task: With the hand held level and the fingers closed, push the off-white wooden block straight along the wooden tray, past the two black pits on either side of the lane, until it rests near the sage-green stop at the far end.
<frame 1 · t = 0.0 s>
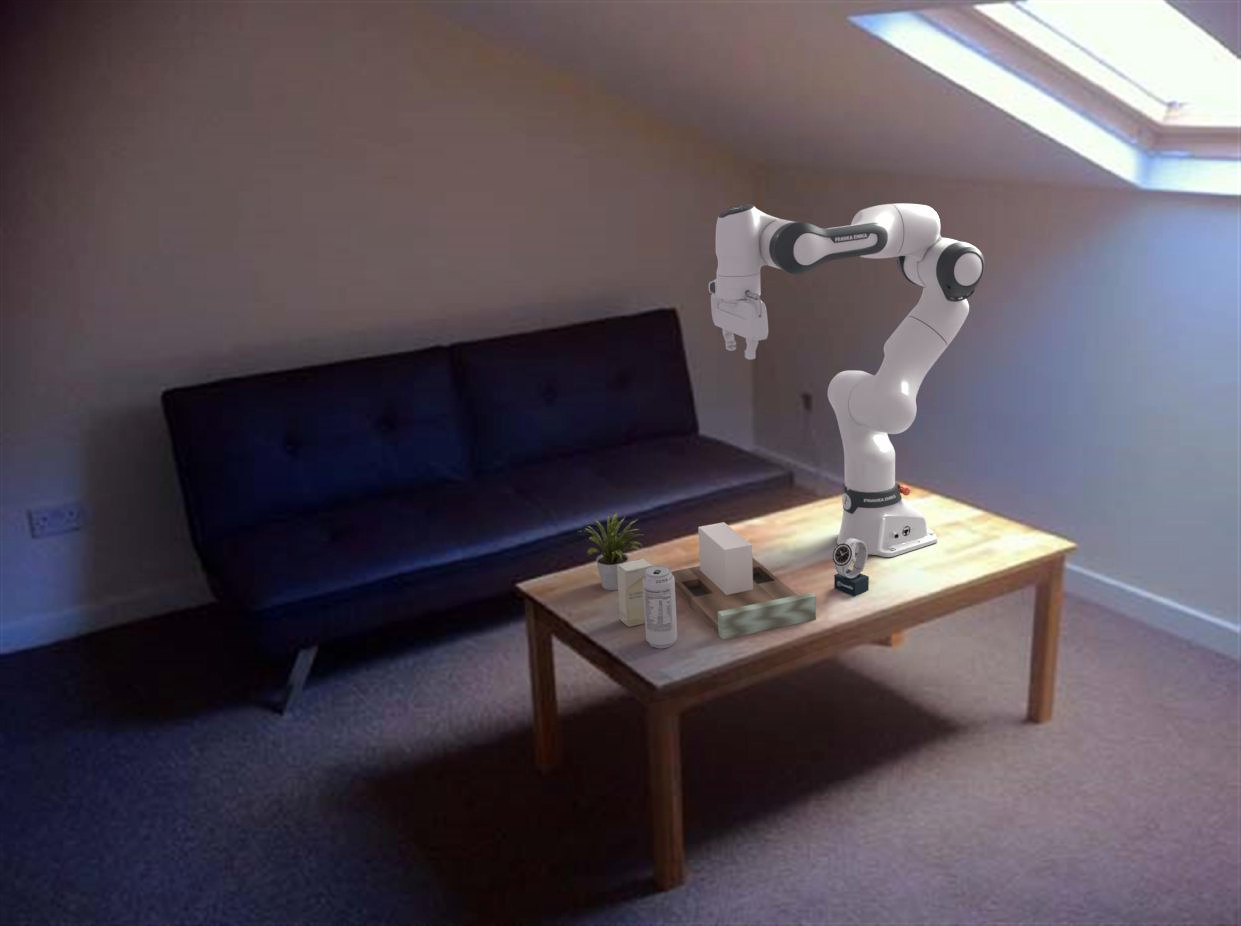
hand: (740, 354, 230), 48 cm above the table, tool pointing down, fingers open, 8 cm apart
house plant: (611, 588, 239), on the table
energy drink can: (661, 643, 214), on the table
watch: (851, 590, 231), on the table
wooden tray: (737, 599, 230), on the table
block: (725, 579, 235), point 2 cm above the table, touching wooden tray
skincare box: (637, 620, 224), on the table
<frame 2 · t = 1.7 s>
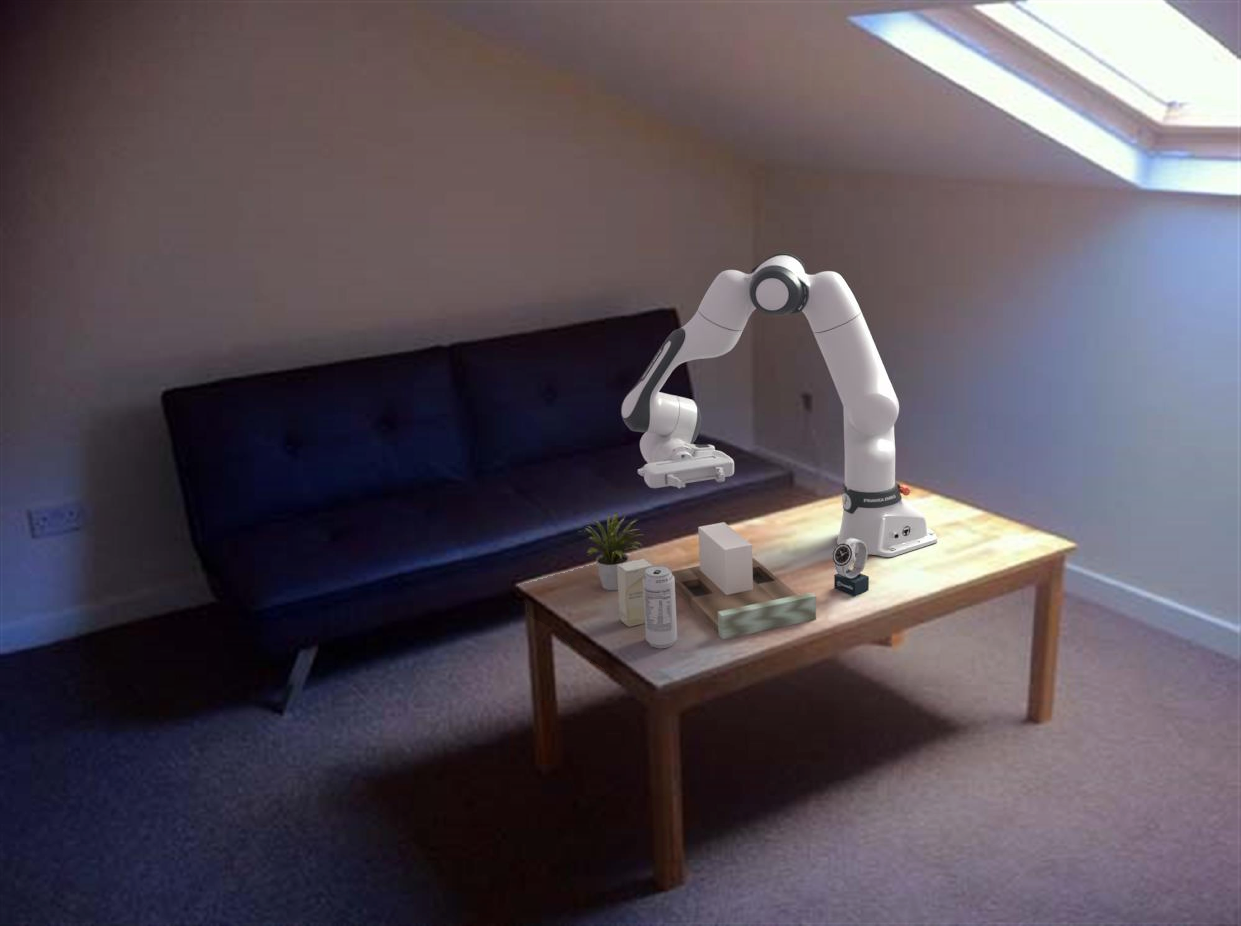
hand: (702, 481, 239), 21 cm above the table, tool horizontal, fingers open, 8 cm apart
nothing on the table moved.
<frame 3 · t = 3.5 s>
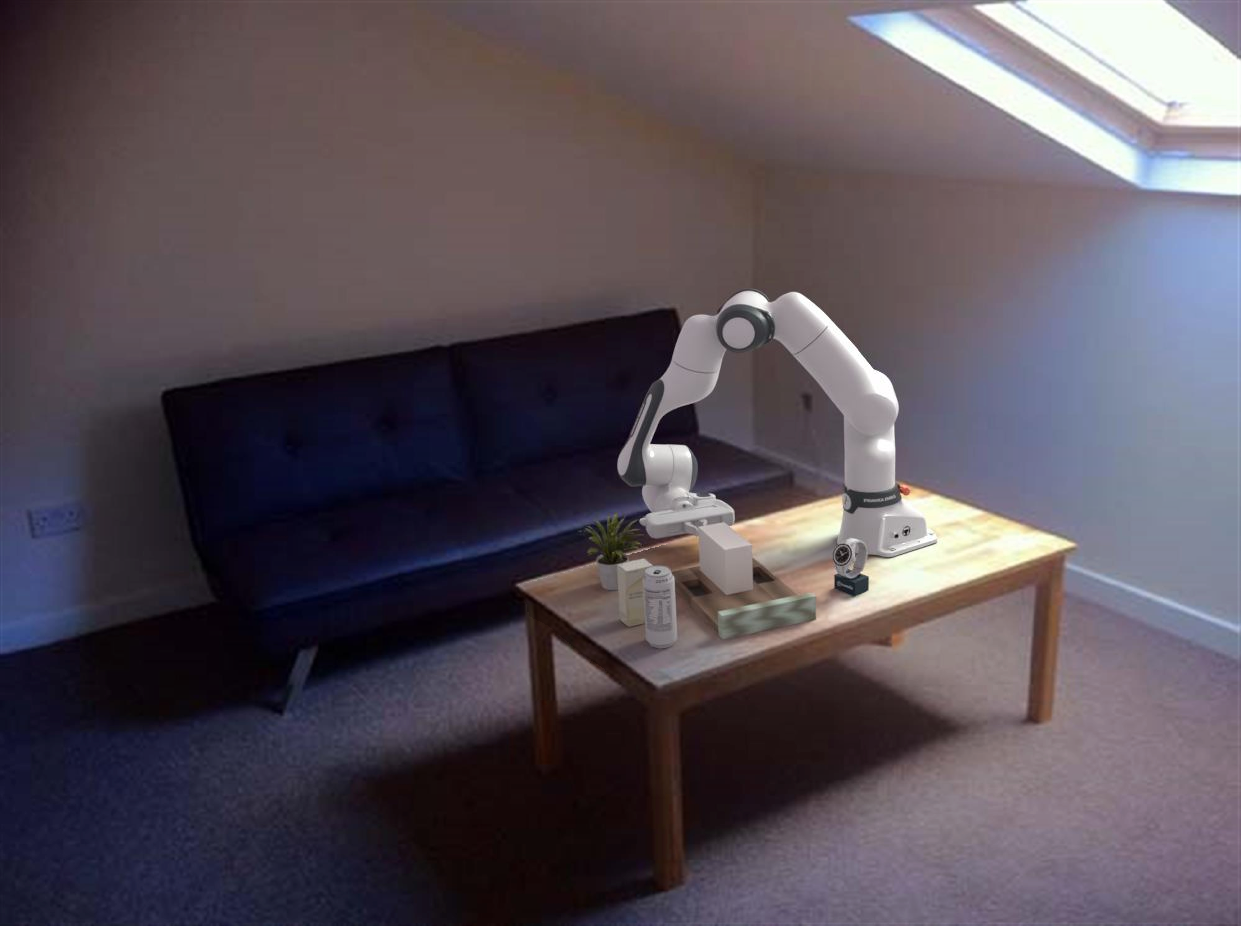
hand: (702, 532, 243), 9 cm above the table, tool horizontal, fingers closed
nothing on the table moved.
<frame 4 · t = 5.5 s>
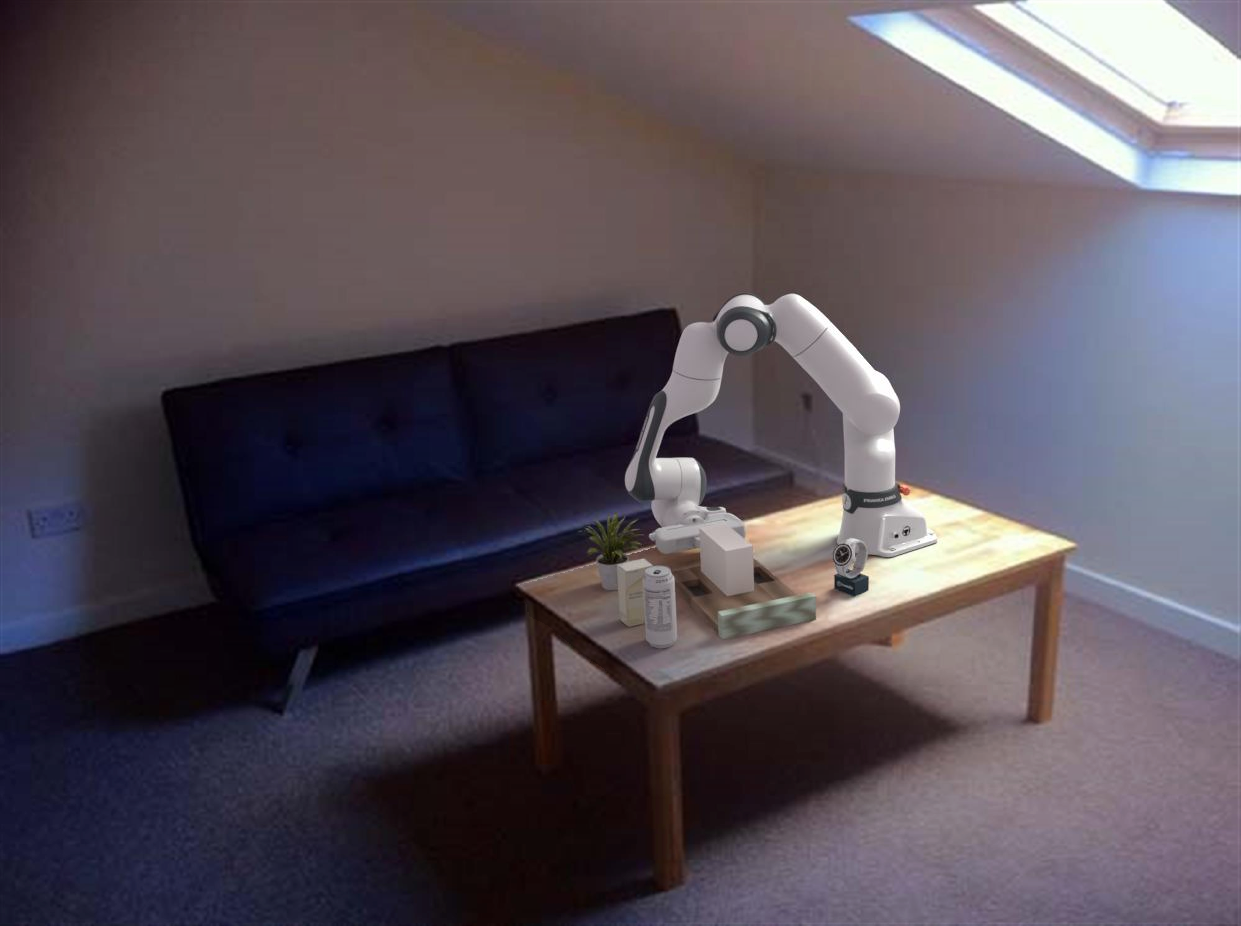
hand: (713, 547, 239), 7 cm above the table, tool horizontal, fingers closed, pressing on block
block: (726, 580, 234), point 2 cm above the table, touching gripper
everything else where it was.
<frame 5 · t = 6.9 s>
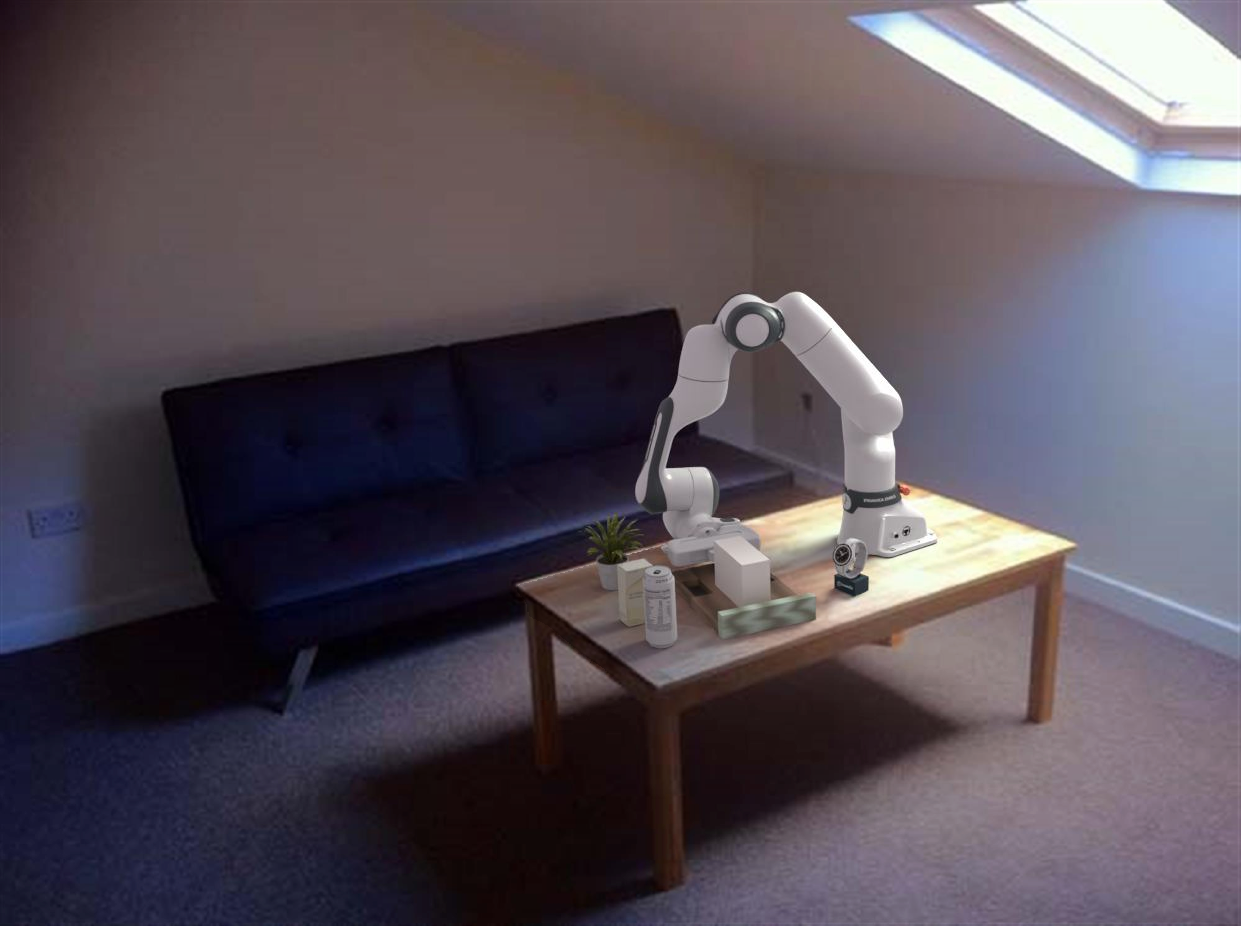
hand: (727, 560, 232), 7 cm above the table, tool horizontal, fingers closed, pressing on block
block: (742, 595, 227), point 2 cm above the table, touching gripper
everything else where it was.
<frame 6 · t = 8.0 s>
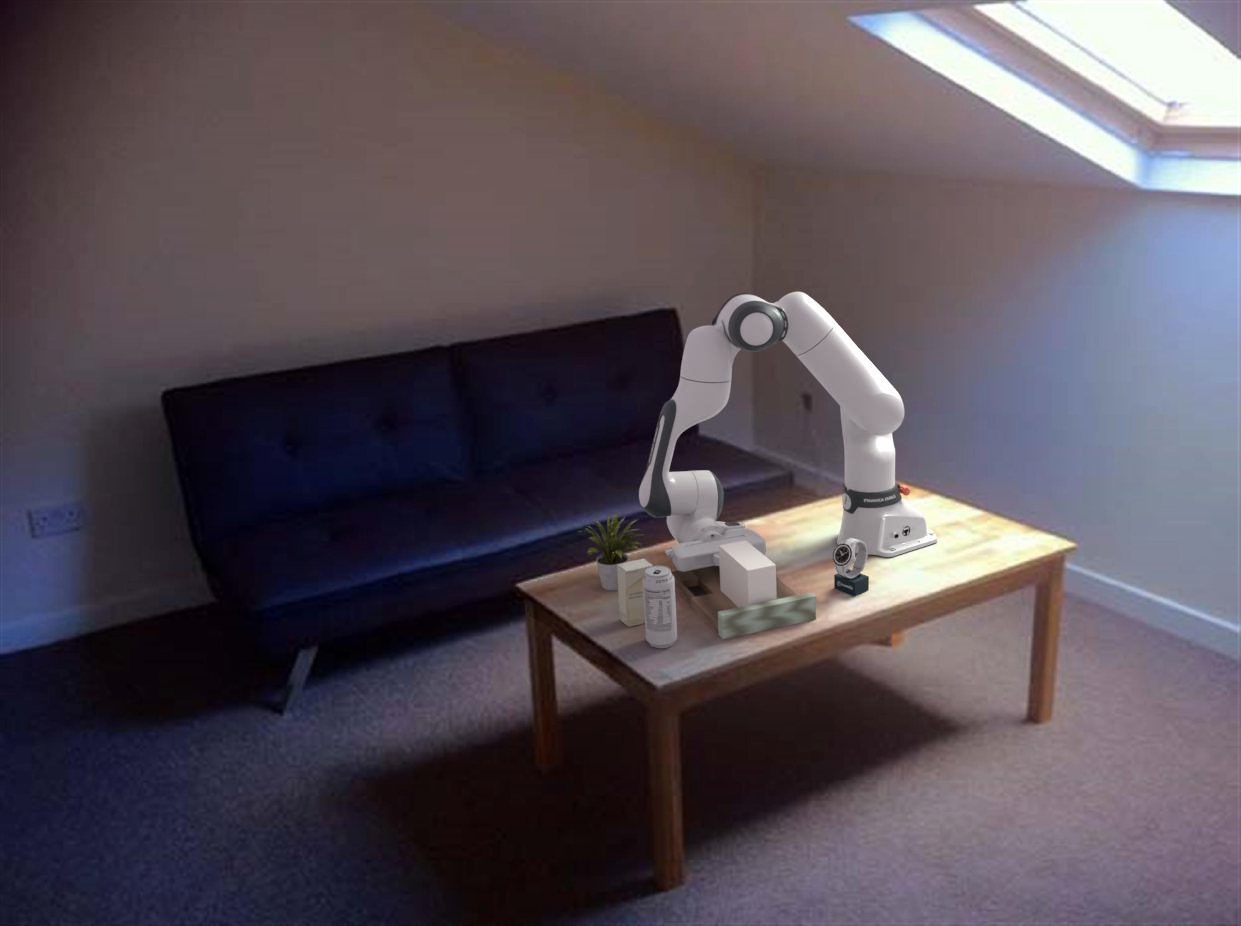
hand: (733, 564, 230), 7 cm above the table, tool horizontal, fingers closed, pressing on block
block: (747, 600, 225), point 2 cm above the table, touching gripper, wooden tray
everything else where it was.
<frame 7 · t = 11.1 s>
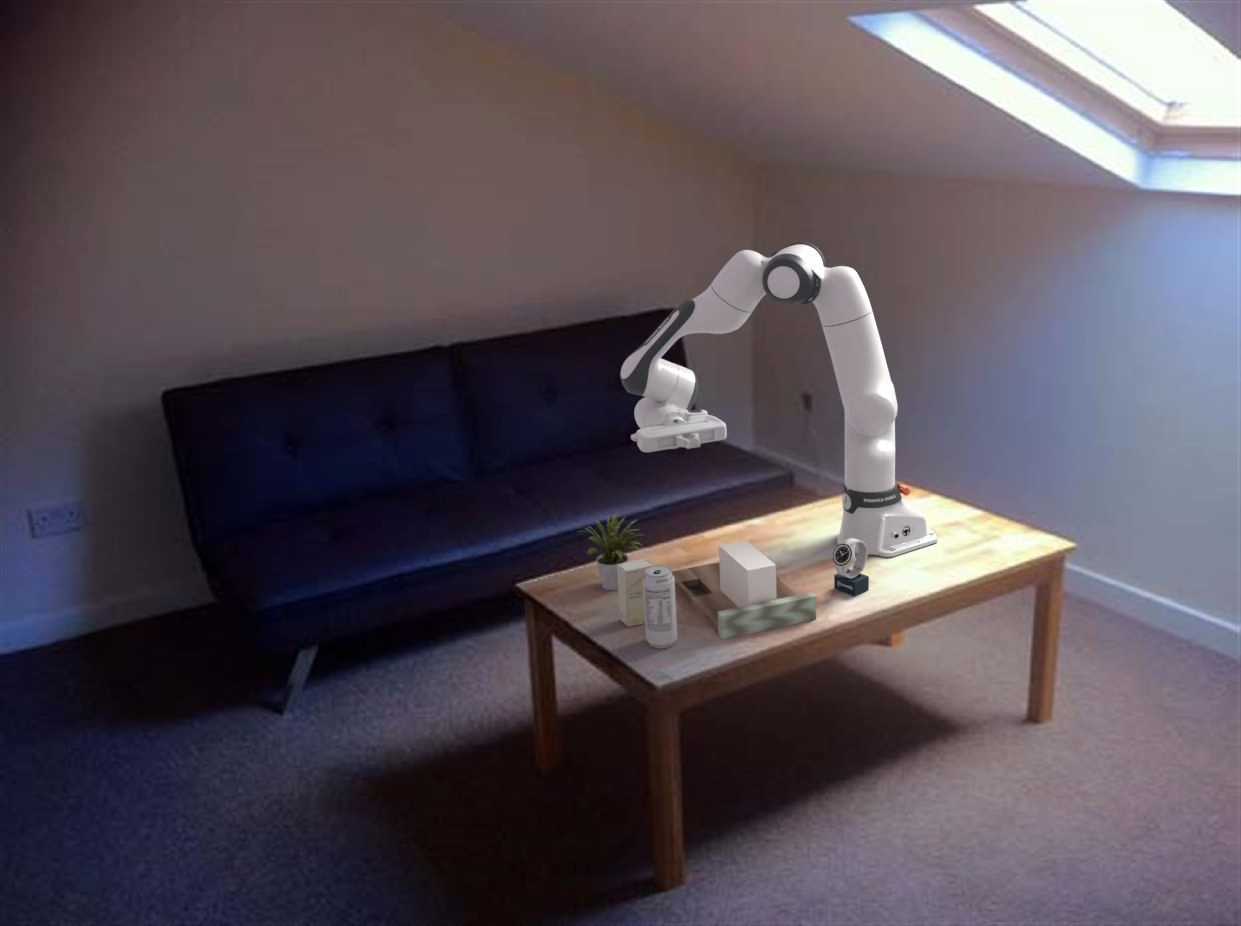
hand: (694, 444, 241), 28 cm above the table, tool horizontal, fingers closed
block: (747, 600, 225), point 2 cm above the table, touching wooden tray
everything else where it was.
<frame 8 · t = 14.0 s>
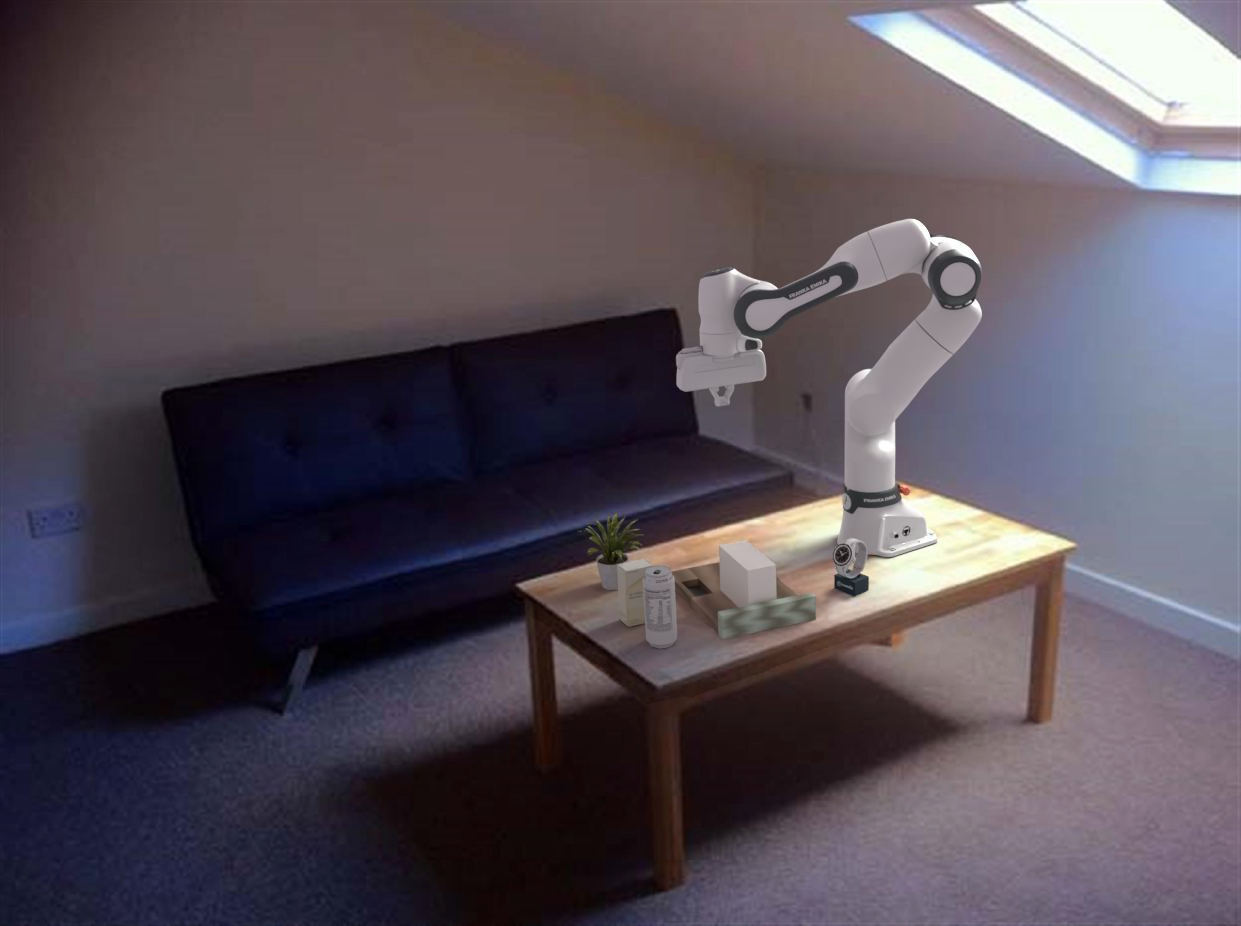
hand: (722, 405, 246), 34 cm above the table, tool pointing down, fingers closed
nothing on the table moved.
at the end: block 0.5 cm from the target spot on the wooden tray, point 2.0 cm above the wooden tray's base; block tilted 0°; block moved 11.3 cm from its start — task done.
